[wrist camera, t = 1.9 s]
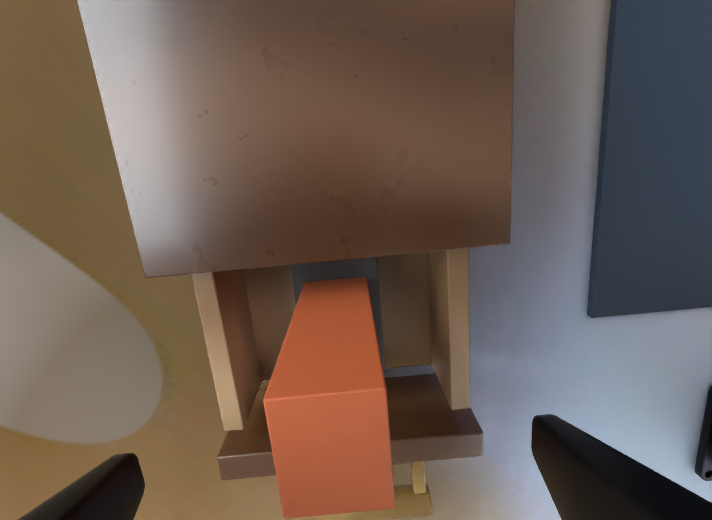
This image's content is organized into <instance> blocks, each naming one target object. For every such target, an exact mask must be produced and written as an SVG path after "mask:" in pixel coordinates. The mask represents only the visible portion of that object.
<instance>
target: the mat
mask: <svg viewBox="0 0 712 520" xmlns="http://www.w3.org/2000/svg"><path fill="white" fill-rule="evenodd" d="M703 307H712V0H611V12H610V25H609V38H608V51H607V64H606V76H605V89H604V102H603V115H602V128H601V141H600V154H599V167H598V180H597V193H596V206H595V219H594V232H593V245H592V258H591V271H590V284H589V297H588V310H587V315H588V316H589V317H591V318H596V317H606V316H617V315H628V314H638V313H649V312H660V311H670V310H681V309H692V308H703Z"/></svg>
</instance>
